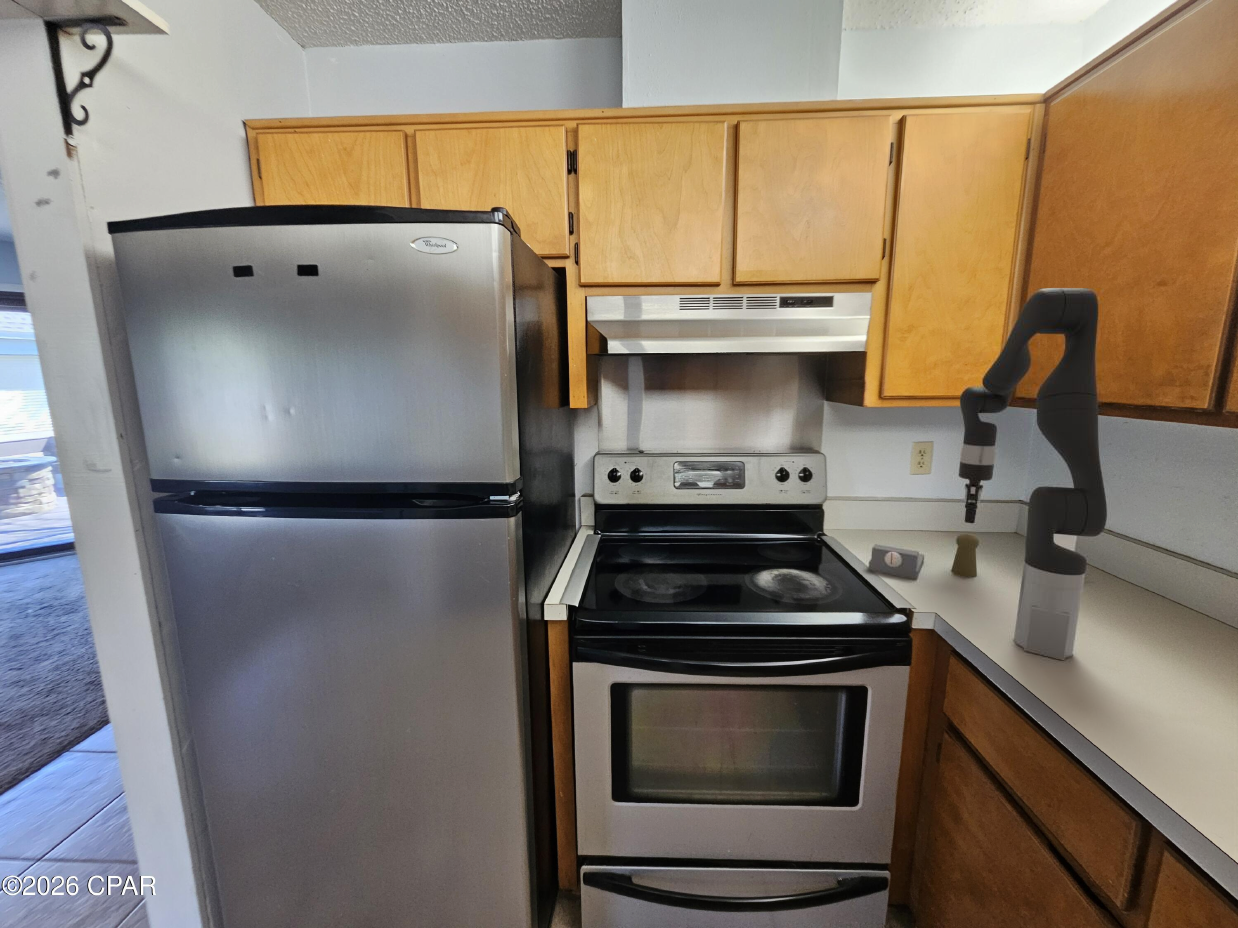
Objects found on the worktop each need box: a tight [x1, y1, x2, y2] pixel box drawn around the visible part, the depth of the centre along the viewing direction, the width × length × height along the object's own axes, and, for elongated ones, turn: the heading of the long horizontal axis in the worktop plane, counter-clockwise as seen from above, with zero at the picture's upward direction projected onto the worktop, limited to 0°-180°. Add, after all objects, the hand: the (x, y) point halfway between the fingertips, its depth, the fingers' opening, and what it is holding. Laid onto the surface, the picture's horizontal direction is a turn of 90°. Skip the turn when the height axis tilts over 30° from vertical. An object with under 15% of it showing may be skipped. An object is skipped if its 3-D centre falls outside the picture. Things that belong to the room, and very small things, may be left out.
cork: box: [950, 533, 980, 578], centre depth 139 cm, size 6×6×11 cm
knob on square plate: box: [868, 543, 925, 581], centre depth 145 cm, size 16×12×7 cm
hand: (970, 518), depth 138 cm, fingers open, 8 cm apart
